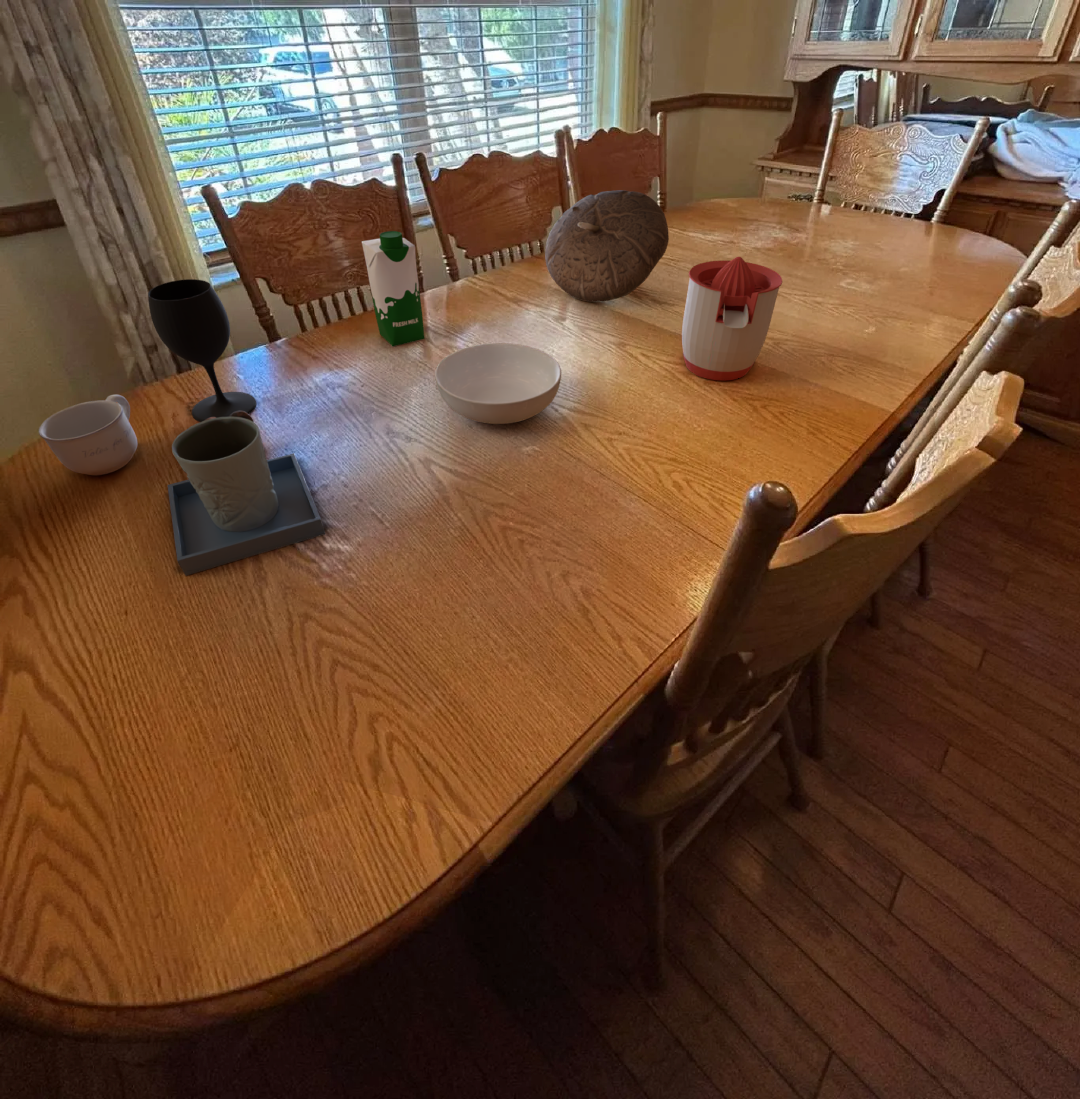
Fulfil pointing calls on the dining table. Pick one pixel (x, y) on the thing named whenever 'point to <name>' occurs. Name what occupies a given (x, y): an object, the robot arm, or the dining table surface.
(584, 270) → the brown fungus
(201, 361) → the wine glass
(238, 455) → the gray ceramic cup
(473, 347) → the serving bowl
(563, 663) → the dining table surface
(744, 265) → the citrus juicer
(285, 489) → the dark gray rectangular tray
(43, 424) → the teacup
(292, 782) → the dining table surface
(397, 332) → the milk carton
